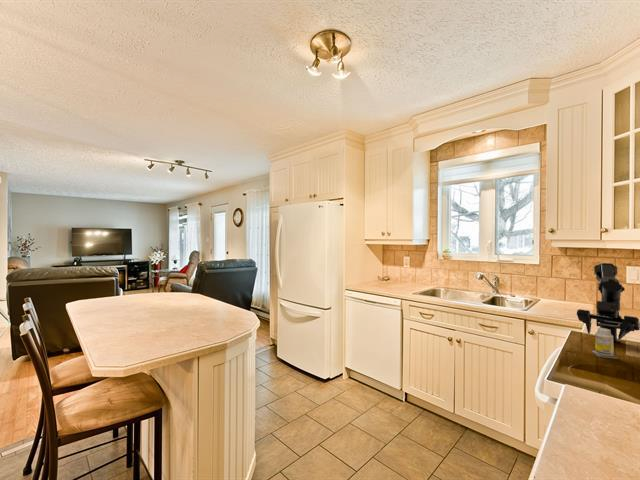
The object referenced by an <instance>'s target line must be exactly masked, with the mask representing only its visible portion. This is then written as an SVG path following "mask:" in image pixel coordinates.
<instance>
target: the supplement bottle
mask: <svg viewBox="0 0 640 480" xmlns="http://www.w3.org/2000/svg"><path fill="white" fill-rule="evenodd" d="M594 341H595V342H594V343H595V350H594V351H596V353H598V354H601V355H605V356H613V355H614V354H615V347H614V343H615V342H614V337H613V335H612V334H611V330H610V329H606V328H600V327H597V331H596V332H595V333H594ZM614 356H615V355H614Z"/></svg>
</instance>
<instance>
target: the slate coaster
mask: <svg viewBox="0 0 640 480" xmlns="http://www.w3.org/2000/svg"><path fill="white" fill-rule="evenodd" d="M591 351H592V353H593V354H594V355H595V356H597V357H598V358H606V359H615V360H618V359H619V358H618V357H617V356H616V355H613V356H605V355H601V354H598V353H596V350H591Z"/></svg>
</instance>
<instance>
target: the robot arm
mask: <svg viewBox="0 0 640 480" xmlns="http://www.w3.org/2000/svg"><path fill="white" fill-rule="evenodd" d="M593 274H594V276H595V279H596V280H597V281H598V282H597V291H598V292H599V293H600V296H601V300H597V301H596V304H595V305H596V307H595V309H596V313H595V314H594V313H591V311H590V310H589V309H583V308H582V309H581V308H580V309H577V310H576V316H577V318H578V321H580V322H582V323H583V324H585V326H586V331H587V334H589V335H590V334H591V329H592V320H595V325H596V327H599V328H606V329H610V330H611V334H612V335H613V337H614V343H621V340H622V338H624V337H625V336H626V335H627V334H629V333H630V332H635V331H640V319H639V318H638V317H637V316H631V315H624V316H623V317H622V316H621V315H620V311H621V296H622V293H623V291H625V287H624V286H623V284H622V283H620V280H619V279H618V278H616V276H618V266H616V265H615V264H614V263H611V262H608V263H607V262H601V263H598V264H596V265H594V267H593ZM618 330H619V332H618Z"/></svg>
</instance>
